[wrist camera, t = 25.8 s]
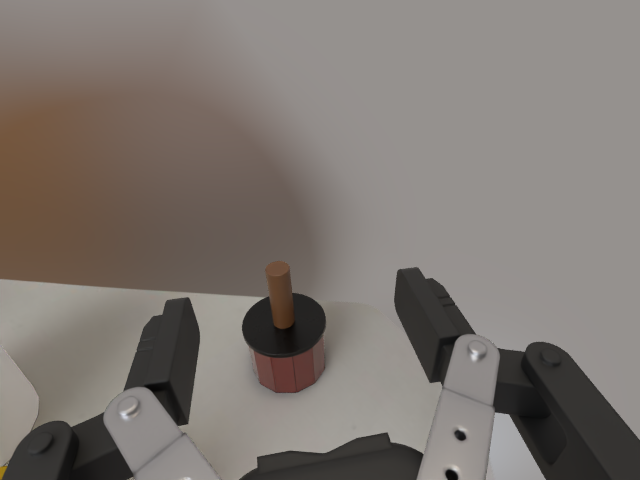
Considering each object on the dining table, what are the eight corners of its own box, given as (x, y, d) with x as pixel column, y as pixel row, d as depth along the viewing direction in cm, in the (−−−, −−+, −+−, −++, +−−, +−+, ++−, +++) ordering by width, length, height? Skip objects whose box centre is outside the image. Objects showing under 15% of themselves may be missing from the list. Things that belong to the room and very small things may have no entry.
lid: (340, 312, 45) (340, 256, 41) (295, 372, 38) (289, 313, 33) (275, 287, 50) (268, 234, 45) (225, 336, 43) (210, 280, 38)
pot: (337, 350, 49) (336, 312, 45) (299, 405, 43) (295, 367, 39) (281, 325, 53) (276, 289, 49) (239, 372, 47) (230, 335, 43)
